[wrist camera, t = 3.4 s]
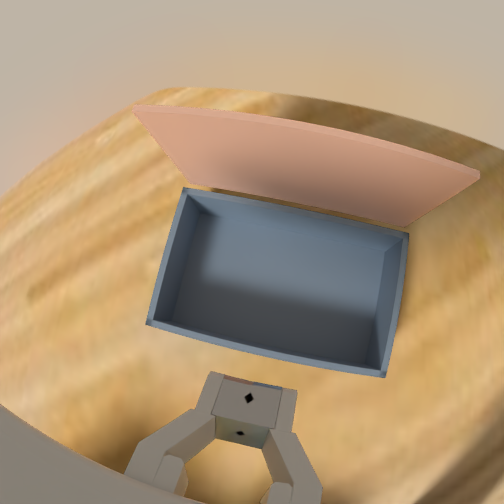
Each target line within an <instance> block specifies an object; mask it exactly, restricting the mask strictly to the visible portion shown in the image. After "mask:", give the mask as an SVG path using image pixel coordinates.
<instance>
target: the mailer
mask: <svg viewBox="0 0 504 504" xmlns="http://www.w3.org/2000/svg"><path fill="white" fill-rule="evenodd" d="M408 242H409V233H406V232H401V231H397V230H393V229H389V228H385V227H381V226H377V225H372V224H368V223H364V222H359V221H355V220H351V219H346V218H342V217H337V216H333V215H328V214H323V213H319V212H314V211H309V210H304V209H300V208H295V207H290V206H285V205H280V204H275V203H269V202H264V201H259V200H254V199H248V198H243V197H237V196H232V195H226V194H221V193H215V192H209V191H203V190H197V189H191V188H185V187H183V190H182V193H181V196H180V199H179V203H178V206H177V209H176V212H175V216H174V219H173V222H172V226H171V229H170V232H169V236H168V239H167V243H166V246H165V250H164V253H163V257H162V261H161V264H160V268H159V272H158V276H157V279H156V283H155V287H154V291H153V295H152V299H151V303H150V307H149V311H148V316H147V320H146V324H145V325H149V326H152V327H155V328H158V329H162V330H165V331H168V332H172V333H175V334H179V335H182V336H186V337H189V338H193V339H196V340H200V341H204V342H207V343H211V344H215V345H219V346H223V347H227V348H231V349H235V350H239V351H243V352H247V353H252V354H256V355H260V356H265V357H269V358H274V359H278V360H283V361H288V362H293V363H298V364H303V365H308V366H313V367H319V368H324V369H330V370H335V371H341V372H347V373H354V374H360V375H367V376H374V377H381V378H385V377H386V373H387V369H388V365H389V360H390V356H391V351H392V346H393V342H394V337H395V332H396V326H397V321H398V315H399V310H400V303H401V297H402V291H403V284H404V276H405V269H406V261H407V252H408Z"/></svg>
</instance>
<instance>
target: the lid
mask: <svg viewBox="0 0 504 504" xmlns="http://www.w3.org/2000/svg"><path fill="white" fill-rule="evenodd" d="M132 112H133V113H134V115H135V116H136V117H137V118H138V120H139V121H140V122H141V123H142V125H143V126H144V127H145V128H146V130H147V131H148V132H149V133H150V135H151V136H152V137H153V138H154V139H155V141H156V142H157V143H158V144H159V146H160V147H161V148H162V149H163V151H164V152H165V153H166V154H167V156H168V157H169V158H170V159H171V161H172V162H173V163H174V164H175V165H176V167H177V168H178V169H179V170H180V172H181V173H182V174H183V175H184V177H185V178H186V179H187V180H188V181H189V183H190V184H195V185H201V186H207V187H213V188H219V189H225V190H231V191H236V192H242V193H247V194H253V195H258V196H263V197H269V198H274V199H279V200H284V201H289V202H294V203H299V204H304V205H309V206H314V207H318V208H323V209H328V210H332V211H337V212H341V213H346V214H350V215H355V216H359V217H363V218H368V219H372V220H376V221H380V222H384V223H389V224H393V225H397V226H401V227H406V226H407V225H409V224H411V223H412V222H414V221H415V220H417V219H419V218H420V217H422V216H423V215H425V214H427V213H428V212H430V211H431V210H433V209H435V208H436V207H438V206H439V205H441V204H442V203H444V202H445V201H447V200H449V199H450V198H452V197H453V196H455V195H456V194H458V193H459V192H461V191H462V190H464V189H465V188H467V187H468V186H470V185H471V184H473V183H474V182H476V181H477V180H479V179H480V171H478V170H476V169H473V168H471V167H468V166H465V165H462V164H460V163H457V162H454V161H451V160H448V159H445V158H442V157H439V156H436V155H433V154H430V153H427V152H424V151H420V150H417V149H414V148H410V147H407V146H404V145H400V144H397V143H393V142H389V141H386V140H382V139H378V138H374V137H370V136H366V135H362V134H358V133H354V132H350V131H345V130H341V129H336V128H331V127H327V126H322V125H317V124H312V123H306V122H301V121H295V120H290V119H284V118H277V117H271V116H264V115H257V114H250V113H242V112H234V111H225V110H216V109H205V108H194V107H180V106H163V105H134V107H133V109H132Z"/></svg>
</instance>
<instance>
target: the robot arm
mask: <svg viewBox="0 0 504 504" xmlns="http://www.w3.org/2000/svg"><path fill="white" fill-rule="evenodd" d="M296 400H297V390H293V389H287V388H282V387H279V386H273V385H268V384H263V383H258V382H252V381H248V380H244V379H239V378H235V377H231V376H228V375H225V374H220V373H217V372H213V371H211V372H210V373H209V375H208V377H207V379H206V382H205V385H204V387H203V390H202V392H201V395H200V397H199V400H198V403H197V405H196V408H195V410H193V409H190V410H188V411H187V412H185V413H184V414H182V415H181V416H179V417H178V418H176V419H174V420H173V421H171V422H170V423H168V424H167V425H165V426H164V427H162V428H161V429H159V430H157V431H156V432H154V433H153V434H151V435H150V436H148V437H146V438H145V439H143V440H141V441H140V442H138V445H137V447H136V449H135V451H134V453H133V455H132V457H131V460H130V462H129V464H128V466H127V468H126V470H125V472H124V475H123V474H121V473H119V472H116V471H114V470H112V469H110V468H107V467H105V466H103V465H101V464H99V463H97V462H95V461H93V460H91V459H89V458H87V457H85V456H83V455H81V454H79V453H77V452H75V451H73V450H72V449H70V448H68V447H66V446H64V445H63V444H61V443H59V442H57V441H56V440H54V439H52V438H51V437H49V436H47V435H46V434H44V433H42V432H41V431H39V430H38V429H36V428H34V427H33V426H31V425H30V424H28V423H27V422H25V421H24V420H22V419H21V418H19V417H18V416H16V415H15V414H14V413H12V412H11V411H9V410H8V409H7V408H5V407H4V406H2V405H1V404H0V504H206V503H203V502H199V501H196V500H192V499H189V498H186V497H184V495H185V492H186V489H187V486H188V483H189V481H188V477H187V473H186V469H185V463H186V462H187V461H189V460H190V459H191V458H192V457H194V456H195V455H196V454H197V453H199V452H200V451H201V450H202V449H204V448H205V447H206V446H207V445H208V444H210V443H211V442H212V441H213V440H214V439H215V438H216V439H221V440H225V441H229V442H234V443H238V444H242V445H246V446H250V447H255V448H259V449H262V453H263V455H264V458H265V461H266V463H267V466H268V469H269V471H270V474H271V477H272V479H273V482H274V483H273V484H271V486H270V487H269V489H268V490H267V492H266V493H265V495H264V496H263V497H262V499H261V501H260V504H321V497H322V489H323V487H322V485H321V483H320V481H319V479H318V477H317V475H316V473H315V471H314V469H313V467H312V465H311V463H310V461H309V459H308V457H307V455H306V453H305V451H304V449H303V447H302V445H301V443H300V441H299V439H298V437H297V435H296V433H292V432H291V431H292V425H293V419H294V413H295V406H296Z"/></svg>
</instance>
